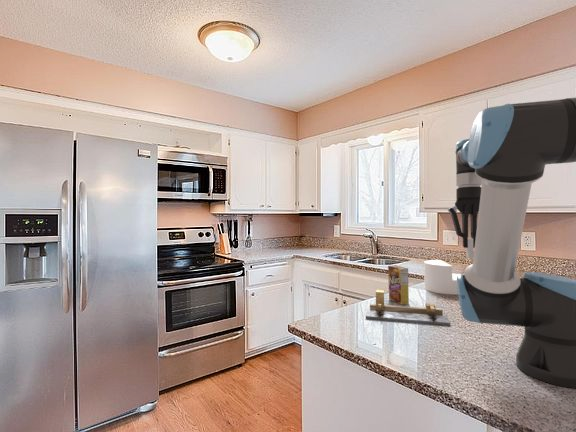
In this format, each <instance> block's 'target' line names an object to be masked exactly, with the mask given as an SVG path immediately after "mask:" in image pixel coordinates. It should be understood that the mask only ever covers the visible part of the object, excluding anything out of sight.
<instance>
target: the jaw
mask: <svg viewBox="0 0 576 432" xmlns="http://www.w3.org/2000/svg"><path fill="white" fill-rule="evenodd" d="M375 304H376V311H379V313H381V311H384V305H385V289H384V290H383V289H382V290H381V289H375Z"/></svg>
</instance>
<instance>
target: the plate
mask: <svg viewBox="0 0 576 432" xmlns="http://www.w3.org/2000/svg"><path fill="white" fill-rule="evenodd" d="M365 314H366V315H365V320H373V321H374V320H376V321H385V320H386V321H387V322H399V323H408V324H409V323H413V324H423V325H436V326H446V327H447V326H449V327H450V326H451V322H450V319H449V317H448V316H447V315H444V314H443V315H434V317H432V315H430V314H416V313H402V312H389V311H381V313H379V311H375V310H370V309H366V313H365ZM386 321H385V322H386Z"/></svg>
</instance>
